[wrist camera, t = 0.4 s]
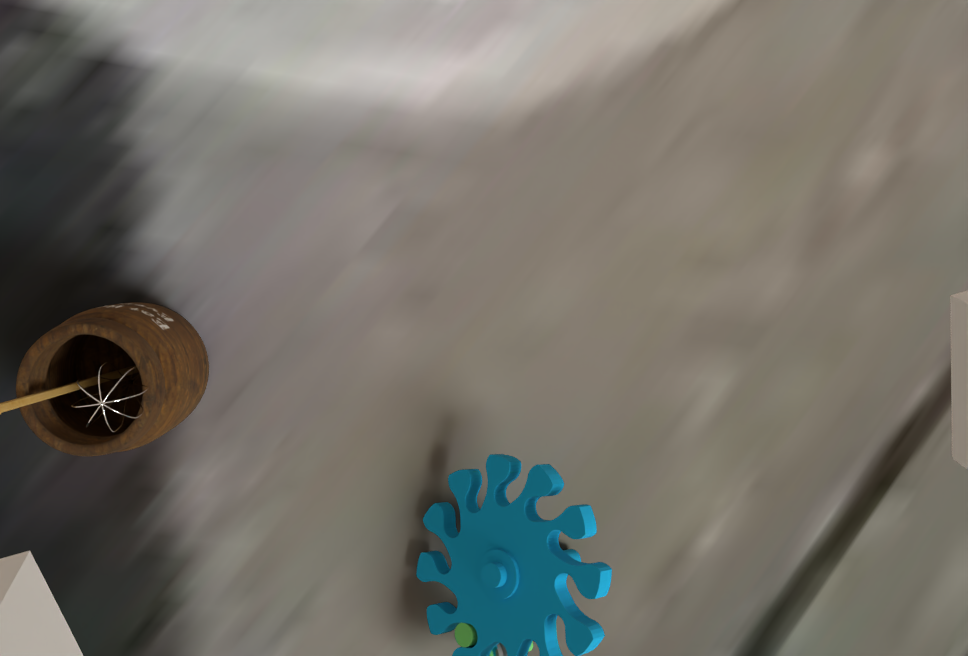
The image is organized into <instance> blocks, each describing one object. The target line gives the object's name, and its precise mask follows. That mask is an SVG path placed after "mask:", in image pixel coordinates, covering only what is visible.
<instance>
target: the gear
mask: <svg viewBox="0 0 968 656" xmlns="http://www.w3.org/2000/svg"><path fill="white" fill-rule="evenodd" d="M486 470H487V476H488V488H487V494H486V497H485V500H484V503H483V505H482V507H481V509H480V508H479V507H478V504H477V496H478V493H479V490H480V488H481V485H482V476H481V473H480V471H479V469H466V470H458V471H456V472H454V473H452V474H450V475H449V478H448V483H449V487H450V489H451V491H452V492H453V494H454V495H455V497H456V499H457V502H458V505H459V510H460V521H461V528H460V533H458V531H457V529H456V515H455V510H454V508H453V506H452V505H451V504H450V503H448V502H443V503H435V504H433V505H432V506H431V507H430V508H429V509H428V511H427V512H426V514H425V516H424V518H423V522H424V525H425V527H426V528H427V529H428V530H429V531H431V532H433V533H435V534H436V535H437V536H438V537H439V538H440V539H441V540H442V541H443V543H444V544H445V546H446V548H447V550H448V553H449V555H450V557H451V561H452V566H451V569H450V568H449V566H448V564H447V561H446V559H445V557H444V555H443V554H442V553H441V552H439V551H430V552H423V553H421V554H420V557H419V560H418V565H417V574H416V576H417V577H418V579H419V580H421V581H423V582H428V581H436V582H440V583H442V584H444V585H445V586H446V587H448V588H449V589H450V590H451V591H452V592H453V593H454V594H455V595H456V597H457V601H458V606H457V609H456V608H455V607H454V606H453V605H452V604H451V603H449V602H442V603H438V604H433V605H430V606H428V608H427V619H428V624H429V628H430V631H431V633H432V634H434V635H438V634H442V633H446V632H450V631H452V630H454V629H455V639H456V641H457V643H458V644H459V645H460V646H461V647H459V648H457V649H456V650H455V651H454V653H453V655H452V656H527V654H528V652H529V651H531V650H532V648H533V641H535V642H536V644H537V645H538V647H539V651H540V656H563V655H562V653H561V650H560V648H559V644H558V640H557V632H556V619H557V616H558V615H559V616H560V617H561V618H562V619H563V621H564V624H565V633H566V643H567V646H568V648H569V650H570V651H571V652H572V653H573V654H574V655H575V656H579V655H582V654H585V653H588V652H590V651H592V650H593V649H595V648H596V647H597V646H598V644H599V643H600V642H601V640H602V639H603V637H604V636H605V635H604V631H603V629H602V627H601V626H600V625H599V623H597V622H596V621H594V620H592V619H590V618H589V617H587V616H586V615H584V614H583V613H582V612H581V611H580V610H579V608H578V607H577V606H576V604H575V603H574V601H573V599H572V597H571V595H570V593H569V591H568V589H567V585H566V579H567V576H568V574H569V575H570V576H571V577H572V578H573V580H574V582H575V584H576V586H577V588H578V590H579V591H580V593H581V594H582V595H583V596H584V597H586V598H588V599H596V598H600V597H603V596H606V595H607V593H608V591H609V587H610V583H611V574H612V569H611V568H610V567H609V566H608V565H607V564H605V563H602V562H597V563H582V562H581V558H580V555H579V554H578V552H577V551H575V550H573V549H568V550H562V549H561V548H560V545H559V542H558V538H559V534H560V532H561V531H562V532H563V533H564V534H566V535H567V536H568V537H570V538H572V539H581V538H588V537H592V536H593V535H595V534H596V521H595V517H594V514H593V511H592V508H591V506H590V505H575V506H570V507H568V508H567V509H566V510H565V511H564V512H563V513H562V514H561V515H560V516H559V517H557V518H555V519H554V520H551V521H550V520H543V519H541V518H540V517H539V516H538V514H537V512H536V503H537V500H538V499H539V498H540V497H542V496H553V495H557V494H558V493H560V492H561V490H562V489H563V486H564V482H563V480H562V478H561V476H560V475H559V474H558V472H557V471H556V470H555V469H554V468H553V467H552V466H551V465H549V464H543V465H536V466H534V467H533V468H532V469H531V470H530V471H529V474H528V478H527V482H526V485H525V488H524V489H523V491H522V493H521V494H520V496H519V497H518V498H517V499H516V500H515V501H513V502H512V503H511V504H510V503H509V502H508V500H507V498H506V489H507V486H508V485H509V484H510V483H511V482H512V481H514V480H515V479H516V478H517V477H518V476H519V474H520V472H521V461H519V460H518V459H517V458H515V457H512V456H509V455H503V454H494V455H489V457H488V459H487V462H486ZM455 627H456V628H455Z"/></svg>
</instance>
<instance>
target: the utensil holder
mask: <svg viewBox="0 0 968 656" xmlns="http://www.w3.org/2000/svg"><path fill="white" fill-rule="evenodd" d="M208 375H209V362H208V356H207V352H206V348H205V346H204V343H203V341H202V339H201V337H200V336H199V334H198V333H197V331H196V330H195V329H194V327H193V326H192V325H191V324H190V323H189V322H188V321H187V320H186V319H184V318H183V317H182V316H180V315H179V314H177V313H176V312H174V311H172V310H170V309H168V308H165V307H162V306H159V305H155V304H150V303H142V302H131V303H121V304H114V305H108V306H102V307H97V308H93V309H90V310H87V311H84V312H81V313H79V314H76V315H74V316H73V317H71V318H69V319H67V320H66V321H64V322H63V323H62V324H60V325H59V326H57V327H55V328H53V329H52V330H50V331H48V332H47V333H46V334H44V335H43V336H42V337H40V338H39V339H38V340H37V341H36V342H35V343H34V344H33V345H32V346H31V347H30V349H29V350H28V351H27V353H26V354H25V356H24V358H23V360H22V362H21V364H20V367H19V370H18V374H17V381H16V395H17V399H14V400H10V401H6V402H3V403H0V414H1V413H2V412H5V411H9V410H12V409H15V408H20V411H21V414H22V416H23V418H24V420H25V422H26V423H27V425H28V426H29V427H30V429H31V430H32V431H33V432H34V433H35V435H36V436H38V437H39V438H40V439H41V440H42V441H43V442H45V443H46V444H48V445H49V446H51V447H53V448H55V449H57V450H59V451H62V452H64V453H68V454H72V455H77V456H99V455H105V454H111V453H114V452H122V451H127V450H131V449H135V448H138V447H141V446H143V445H145V444H148V443H150V442H152V441H153V440H155V439H157V438H159V437H160V436H162V435H163V434H165V433H166V432H168V431H169V430H171V429H172V428H174V427H175V426H177V425H178V424H179V423H181V422H182V421H183V420H184V419H185V418H186V417H188V416H189V415H190V413H191V412H192V411H193V410H194V409H195V408H196V406H197V405H198V403H199V402H200V400H201V398H202V396H203V394H204V392H205V389H206V386H207V382H208Z"/></svg>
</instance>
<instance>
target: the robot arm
mask: <svg viewBox="0 0 968 656" xmlns="http://www.w3.org/2000/svg"><path fill="white" fill-rule="evenodd" d="M950 297H951V398H952V459H954V460H955V461H957V462H958V463H959V464H961V465H962V466H963V467H965V468H966V469H968V291H964V292H961V293H957V294H953V295H950ZM0 656H83V654H82V652H81V650H80V648H79V646H78V644H77V642H76V640H75V638H74V636H73V634H72V632H71V630H70V628H69V627H68V625H67V623H66V621H65V619H64V617H63V615H62V613H61V611H60V609H59V607H58V605H57V603H56V601H55V599H54V597H53V595H52V593H51V591H50V589H49V587H48V585H47V583H46V581H45V579H44V577H43V575H42V574H41V572H40V570H39V568H38V566H37V564H36V562H35V560H34V558H33V556H32V554H31V552H30V551H27V552H23V553H20V554H16V555H12V556H9V557H5V558H2V559H0Z"/></svg>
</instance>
